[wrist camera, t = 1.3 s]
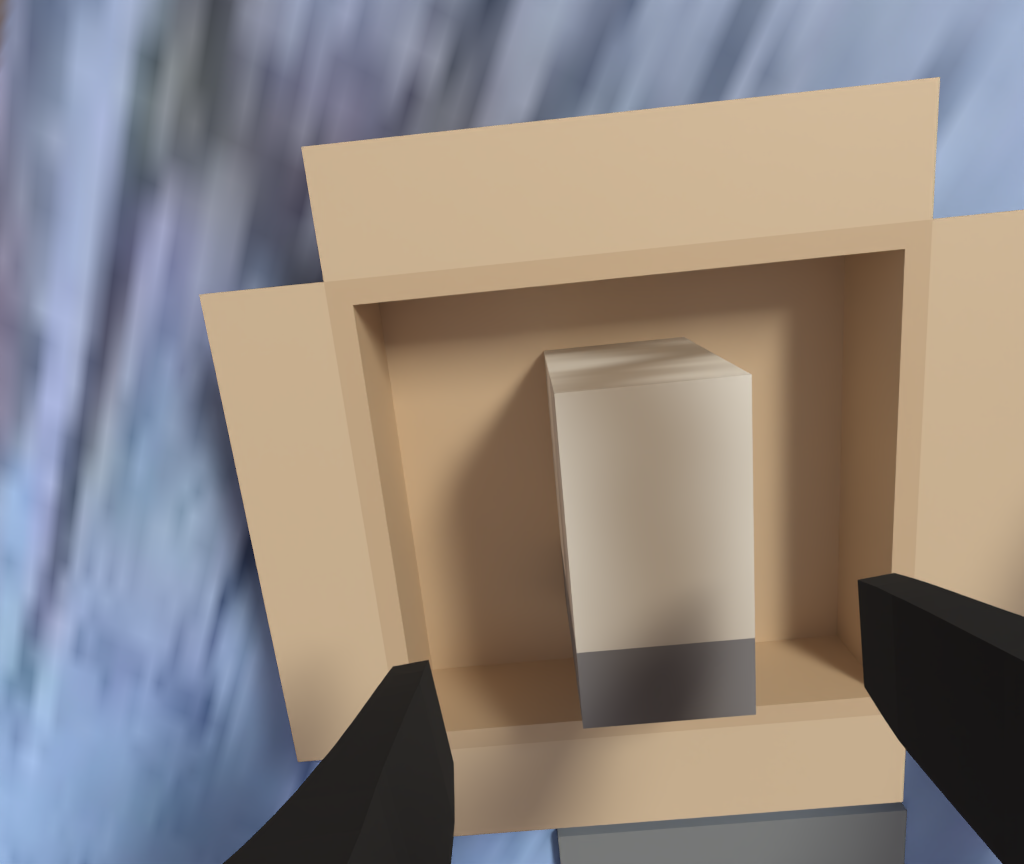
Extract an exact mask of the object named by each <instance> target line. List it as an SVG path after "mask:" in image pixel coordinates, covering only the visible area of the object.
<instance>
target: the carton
mask: <svg viewBox="0 0 1024 864" xmlns="http://www.w3.org/2000/svg"><path fill="white" fill-rule="evenodd" d="M939 85H940V77H936V78H927V79H918V80H909V81H900V82H891V83H882V84H872V85H863V86H854V87H845V88H836V89H827V90H818V91H808V92H799V93H790V94H781V95H772V96H763V97H754V98H744V99H735V100H726V101H717V102H708V103H699V104H690V105H680V106H671V107H662V108H653V109H644V110H635V111H626V112H616V113H607V114H598V115H589V116H580V117H571V118H562V119H552V120H543V121H534V122H525V123H516V124H507V125H498V126H488V127H479V128H470V129H461V130H452V131H443V132H434V133H424V134H415V135H406V136H397V137H388V138H379V139H370V140H360V141H351V142H342V143H333V144H324V145H315V146H306V147H301V148H302V154H303V160H304V166H305V172H306V178H307V184H308V190H309V196H310V202H311V208H312V214H313V220H314V226H315V232H316V238H317V245H318V251H319V257H320V263H321V269H322V275H323V281H324V282H316V283H307V284H297V285H287V286H278V287H268V288H258V289H249V290H239V291H229V292H219V293H210V294H202V295H199V296H200V300H201V305H202V310H203V315H204V319H205V324H206V329H207V334H208V338H209V343H210V348H211V353H212V357H213V362H214V367H215V371H216V376H217V381H218V386H219V390H220V395H221V400H222V405H223V409H224V414H225V419H226V424H227V428H228V433H229V438H230V443H231V447H232V452H233V457H234V462H235V466H236V471H237V476H238V480H239V485H240V490H241V495H242V499H243V504H244V509H245V514H246V518H247V523H248V528H249V533H250V537H251V542H252V547H253V552H254V556H255V561H256V566H257V570H258V575H259V580H260V585H261V589H262V594H263V599H264V604H265V608H266V613H267V618H268V623H269V627H270V632H271V637H272V642H273V646H274V651H275V656H276V661H277V665H278V670H279V675H280V679H281V684H282V689H283V694H284V698H285V703H286V708H287V713H288V717H289V722H290V727H291V732H292V736H293V741H294V746H295V751H296V755H297V760H298V762H303V761H315V760H323V759H324V758H325V756H326V755H327V754H328V753H329V752H330V750H331V749H332V748H333V747H334V745H335V744H336V743H337V741H338V740H339V739H340V737H341V736H342V735H343V733H344V732H345V731H346V729H347V728H348V727H349V726H350V724H351V723H352V722H353V720H354V719H355V717H356V716H357V715H358V713H359V712H360V711H361V709H362V708H363V706H364V705H365V704H366V702H367V701H368V699H369V698H370V697H371V695H372V694H373V692H374V691H375V690H376V688H377V687H378V686H379V684H380V683H381V681H382V680H383V679H384V677H385V676H386V675H387V673H388V672H389V671H390V669H391V668H392V667H393V666H398V665H403V664H409V663H414V662H419V661H425V660H429V663H430V667H431V672H432V676H433V680H434V684H435V688H436V692H437V696H438V700H439V704H440V708H441V713H442V717H443V721H444V725H445V729H446V733H447V737H448V741H449V745H450V749H451V754H452V758H453V762H454V795H455V825H454V836H465V835H478V834H491V833H504V832H517V831H530V830H543V829H556V828H569V827H582V826H595V825H608V824H621V823H635V822H648V821H661V820H674V819H687V818H700V817H713V816H726V815H739V814H752V813H765V812H778V811H791V810H804V809H817V808H830V807H843V806H856V805H869V804H882V803H895V802H903V790H904V770H905V751H906V749H905V748H904V746H903V745H902V744H901V743H900V742H899V740H898V739H897V737H896V736H895V734H894V733H893V731H892V730H891V728H890V727H889V725H888V724H887V722H886V721H885V719H884V718H883V716H882V715H881V713H880V711H879V710H878V708H877V707H876V705H875V703H874V702H873V700H872V699H871V697H870V695H869V694H868V692H867V691H866V689H865V687H864V678H863V661H862V645H861V629H860V613H859V597H858V580H859V579H864V578H870V577H875V576H881V575H886V574H891V573H896V574H900V575H904V576H908V577H911V578H914V579H918V580H921V581H924V582H927V583H930V584H933V585H936V586H939V587H942V588H944V589H947V590H950V591H953V592H956V593H959V594H961V595H964V596H967V597H970V598H973V599H975V600H978V601H981V602H984V603H987V604H989V605H992V606H995V607H998V608H1001V609H1004V610H1006V611H1009V612H1012V613H1015V614H1018V615H1021V616H1024V210H1015V211H1006V212H996V213H986V214H977V215H967V216H957V217H948V218H938V219H933V203H934V183H935V163H936V144H937V124H938V105H939ZM676 337H685V338H687V339H689V340H690V341H692V342H694V343H696V344H698V345H699V346H701V347H703V348H705V349H707V350H708V351H710V352H712V353H714V354H716V355H717V356H719V357H721V358H723V359H725V360H726V361H728V362H730V363H732V364H734V365H735V366H737V367H739V368H741V369H743V370H744V371H746V372H748V373H750V374H752V439H753V516H754V593H755V671H756V715H746V716H733V717H721V718H709V719H697V720H684V721H672V722H660V723H647V724H635V725H623V726H610V727H598V728H586V729H583V723H582V716H581V708H580V701H579V694H578V687H577V679H576V672H575V665H574V657H573V650H572V643H571V635H570V628H569V621H568V614H567V606H566V597H565V586H564V575H563V564H562V552H561V541H560V530H559V519H558V508H557V496H556V485H555V474H554V463H553V452H552V440H551V429H550V418H549V407H548V395H547V384H546V373H545V362H544V351H545V350H555V349H565V348H575V347H585V346H596V345H606V344H616V343H626V342H636V341H646V340H656V339H666V338H676Z"/></svg>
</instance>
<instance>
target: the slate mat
mask: <svg viewBox="0 0 1024 864" xmlns="http://www.w3.org/2000/svg"><path fill="white" fill-rule="evenodd" d="M906 818H907V810H906V808H905V807H904V805H903V804H902V803H901V802H895V803H882V804H869V805H856V806H843V807H830V808H817V809H804V810H791V811H778V812H765V813H752V814H739V815H726V816H713V817H700V818H687V819H674V820H661V821H648V822H635V823H621V824H608V825H595V826H582V827H569V828H557V829H558V842H559V851H560V861H561V864H904V856H905V837H906Z"/></svg>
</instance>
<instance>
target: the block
mask: <svg viewBox="0 0 1024 864" xmlns="http://www.w3.org/2000/svg"><path fill="white" fill-rule="evenodd" d="M544 362H545V373H546V384H547V395H548V407H549V418H550V429H551V440H552V452H553V463H554V474H555V485H556V496H557V508H558V519H559V530H560V541H561V552H562V564H563V575H564V586H565V597H566V606H567V614H568V621H569V628H570V635H571V643H572V650H573V657H574V665H575V672H576V679H577V687H578V694H579V701H580V708H581V716H582V723H583V729H586V728H598V727H610V726H623V725H635V724H647V723H660V722H672V721H684V720H697V719H709V718H721V717H733V716H746V715H756V671H755V593H754V516H753V439H752V374H750V373H748V372H746V371H744V370H743V369H741V368H739V367H737V366H735V365H734V364H732V363H730V362H728V361H726V360H725V359H723V358H721V357H719V356H717V355H716V354H714V353H712V352H710V351H708V350H707V349H705V348H703V347H701V346H699V345H698V344H696V343H694V342H692V341H690V340H689V339H687V338H685V337H676V338H666V339H656V340H646V341H636V342H626V343H616V344H606V345H596V346H585V347H575V348H565V349H555V350H545V351H544Z"/></svg>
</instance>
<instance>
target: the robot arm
mask: <svg viewBox="0 0 1024 864" xmlns="http://www.w3.org/2000/svg"><path fill="white" fill-rule="evenodd" d="M858 597H859V613H860V629H861V645H862V661H863V678H864V687H865V689H866V691H867V692H868V694H869V695H870V697H871V699H872V700H873V702H874V703H875V705H876V707H877V708H878V710H879V711H880V713H881V715H882V716H883V718H884V719H885V721H886V722H887V724H888V725H889V727H890V728H891V730H892V731H893V733H894V734H895V736H896V737H897V739H898V740H899V742H900V743H901V744H902V745H903V746H904V748H905V749H906V750H907V751H908V753H909V754H910V755H911V756H912V757H913V759H914V760H915V761H916V762H917V763H918V765H919V766H920V767H921V768H922V769H923V771H924V772H925V773H926V774H927V775H928V777H929V778H930V779H931V780H932V781H933V783H934V784H935V785H936V786H937V787H938V788H939V790H940V791H941V792H942V793H943V794H944V795H945V797H946V798H947V799H948V800H949V801H950V802H951V804H952V805H953V806H954V807H955V808H956V810H957V811H958V812H959V813H960V814H961V815H962V817H963V818H964V819H965V820H966V821H967V822H968V824H969V825H970V826H971V827H972V828H973V830H974V831H975V832H976V833H977V834H978V835H979V837H980V838H981V839H982V840H983V841H984V842H985V844H986V845H987V846H988V847H989V848H990V849H991V851H992V852H993V853H994V854H995V855H996V857H997V858H998V859H999V860H1000V861H1001V862H1002V864H1024V616H1021V615H1018V614H1015V613H1012V612H1009V611H1006V610H1004V609H1001V608H998V607H995V606H992V605H989V604H987V603H984V602H981V601H978V600H975V599H973V598H970V597H967V596H964V595H961V594H959V593H956V592H953V591H950V590H947V589H944V588H942V587H939V586H936V585H933V584H930V583H927V582H924V581H921V580H918V579H914V578H911V577H908V576H904V575H900V574H896V573H891V574H886V575H881V576H875V577H870V578H864V579H859V580H858ZM454 825H455V795H454V762H453V758H452V754H451V749H450V745H449V741H448V737H447V733H446V729H445V725H444V721H443V717H442V713H441V708H440V704H439V700H438V696H437V692H436V688H435V684H434V680H433V676H432V672H431V667H430V663H429V660H425V661H419V662H414V663H409V664H403V665H398V666H393V667H392V668H391V669H390V671H389V672H388V673H387V675H386V676H385V677H384V679H383V680H382V681H381V683H380V684H379V686H378V687H377V688H376V690H375V691H374V692H373V694H372V695H371V697H370V698H369V699H368V701H367V702H366V704H365V705H364V706H363V708H362V709H361V711H360V712H359V713H358V715H357V716H356V717H355V719H354V720H353V722H352V723H351V724H350V726H349V727H348V728H347V729H346V731H345V732H344V733H343V735H342V736H341V737H340V739H339V740H338V741H337V743H336V744H335V745H334V747H333V748H332V749H331V750H330V752H329V753H328V754H327V755H326V756H325V758H324V759H323V760H322V761H321V762H320V764H319V765H318V766H317V767H316V768H315V769H314V771H313V772H312V773H311V774H310V775H309V777H308V778H307V779H306V780H305V781H304V783H303V784H302V785H301V786H300V787H299V789H298V790H297V791H296V792H295V793H294V794H293V795H292V796H291V798H290V799H289V800H288V801H287V802H286V803H285V804H284V805H283V806H282V807H281V808H280V809H279V810H278V811H277V812H276V814H275V815H274V816H273V817H272V818H271V819H270V820H269V821H268V822H267V823H266V824H265V825H264V826H263V827H262V828H261V829H260V830H259V831H258V832H257V833H256V834H255V835H254V836H253V837H252V838H251V839H250V840H248V841H247V842H246V843H245V844H244V845H243V846H242V847H241V848H240V849H239V850H238V851H237V852H236V853H235V854H233V855H232V856H231V857H230V858H229V859H228V860H226V861H225V862H224V863H223V864H451V857H452V847H453V836H454Z"/></svg>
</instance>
